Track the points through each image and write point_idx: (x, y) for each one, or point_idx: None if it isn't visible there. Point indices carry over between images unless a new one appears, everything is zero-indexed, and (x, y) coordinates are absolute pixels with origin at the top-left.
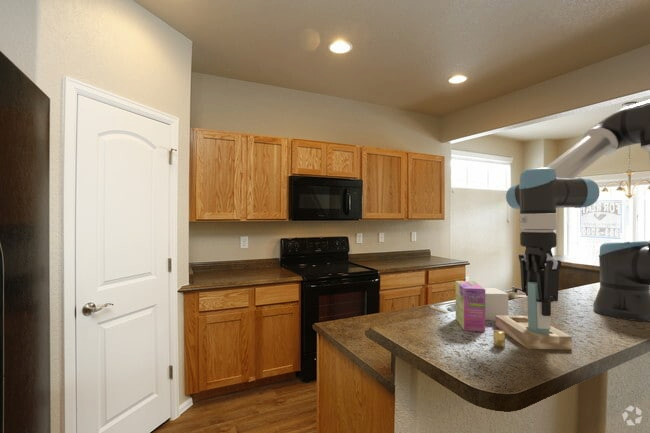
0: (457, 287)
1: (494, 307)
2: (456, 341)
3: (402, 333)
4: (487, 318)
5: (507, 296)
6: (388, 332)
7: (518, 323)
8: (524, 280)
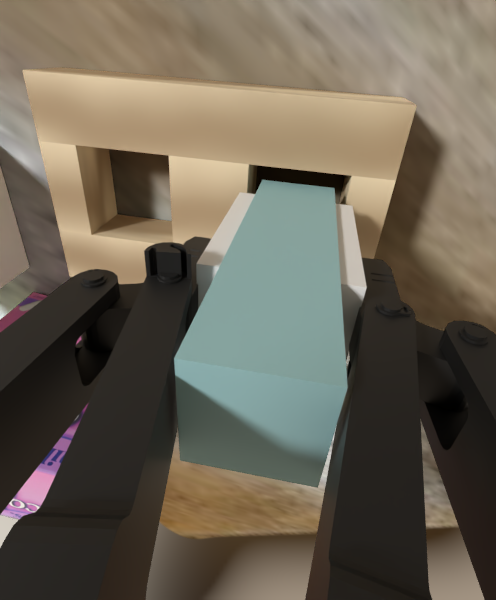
0: None
1: None
2: None
3: (205, 506)
4: (17, 246)
5: None
6: (200, 523)
7: None
8: (72, 417)
